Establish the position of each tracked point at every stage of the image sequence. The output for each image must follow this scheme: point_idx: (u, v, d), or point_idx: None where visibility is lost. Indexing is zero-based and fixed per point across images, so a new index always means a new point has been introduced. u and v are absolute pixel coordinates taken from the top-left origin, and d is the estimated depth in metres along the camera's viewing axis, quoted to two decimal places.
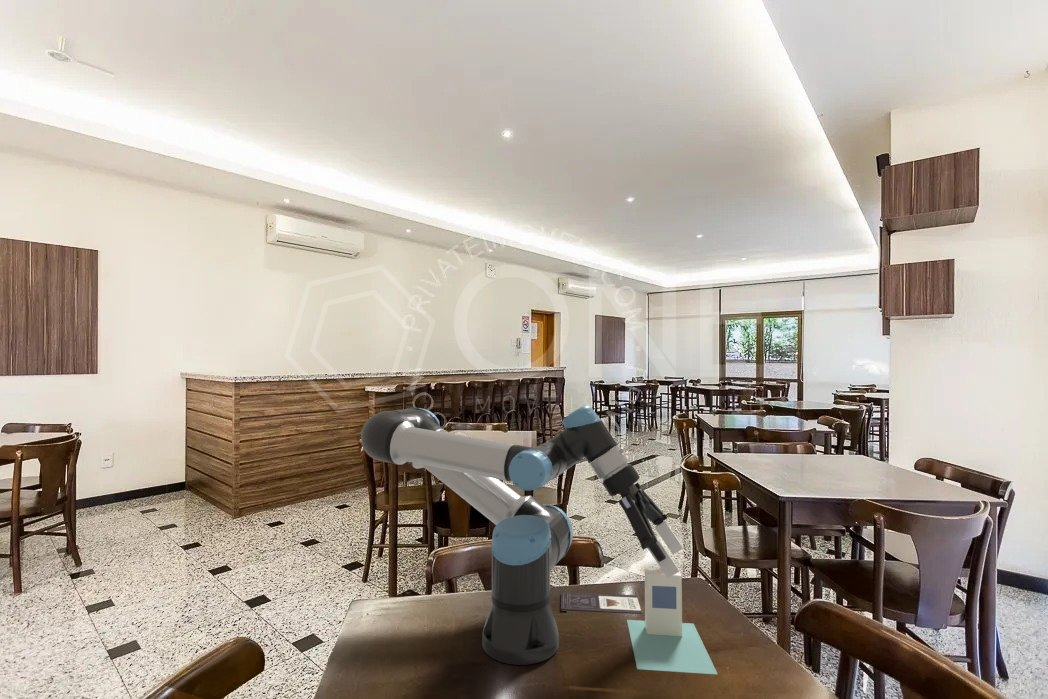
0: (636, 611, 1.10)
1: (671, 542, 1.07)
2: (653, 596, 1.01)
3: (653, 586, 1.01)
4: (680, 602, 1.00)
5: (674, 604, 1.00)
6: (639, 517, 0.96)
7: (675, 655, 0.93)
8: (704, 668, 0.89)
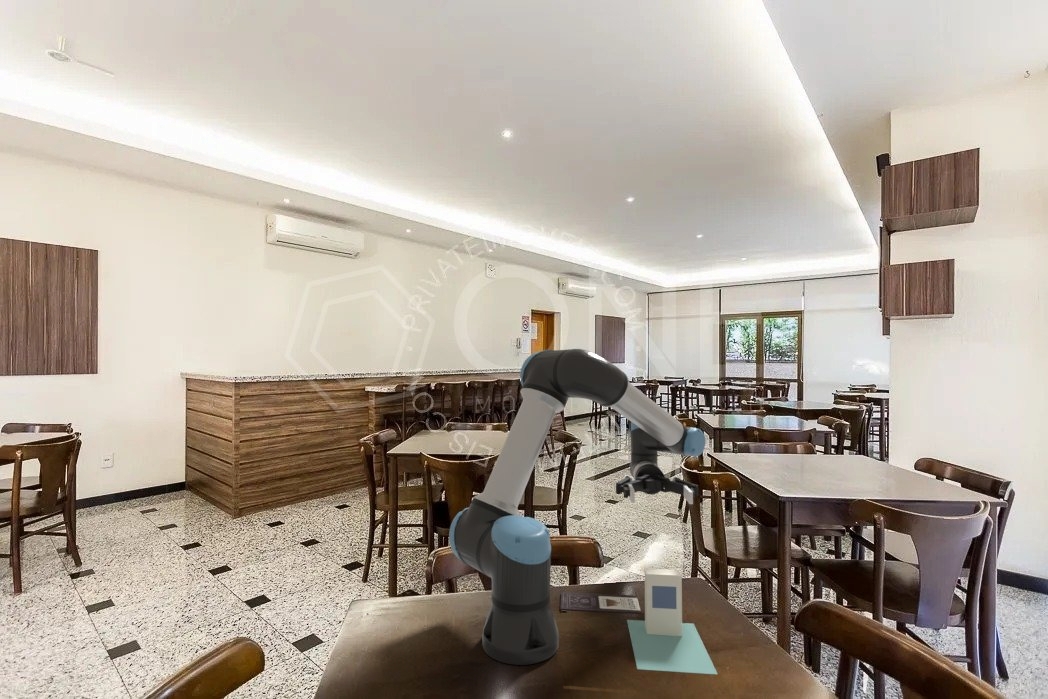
0: (636, 611, 1.10)
1: None
2: (653, 596, 1.01)
3: (653, 586, 1.01)
4: (680, 602, 1.00)
5: (674, 604, 1.00)
6: None
7: (675, 655, 0.93)
8: (704, 668, 0.89)
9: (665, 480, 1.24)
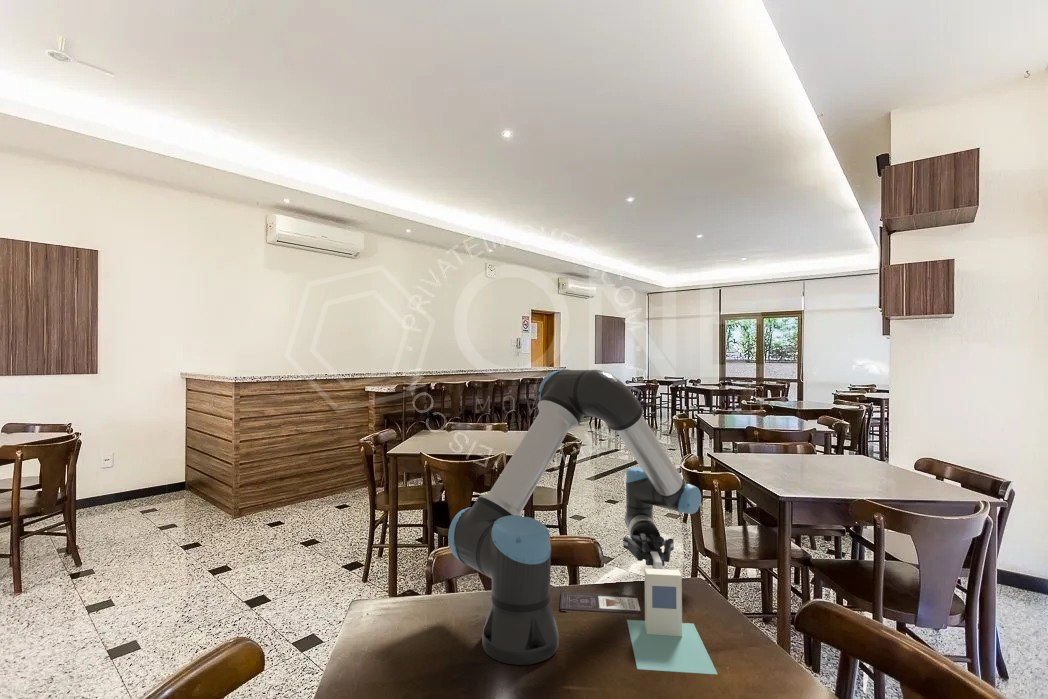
0: (636, 611, 1.10)
1: None
2: (653, 596, 1.01)
3: (653, 586, 1.01)
4: (680, 602, 1.00)
5: (674, 604, 1.00)
6: None
7: (675, 655, 0.93)
8: (704, 668, 0.89)
9: (652, 541, 1.24)
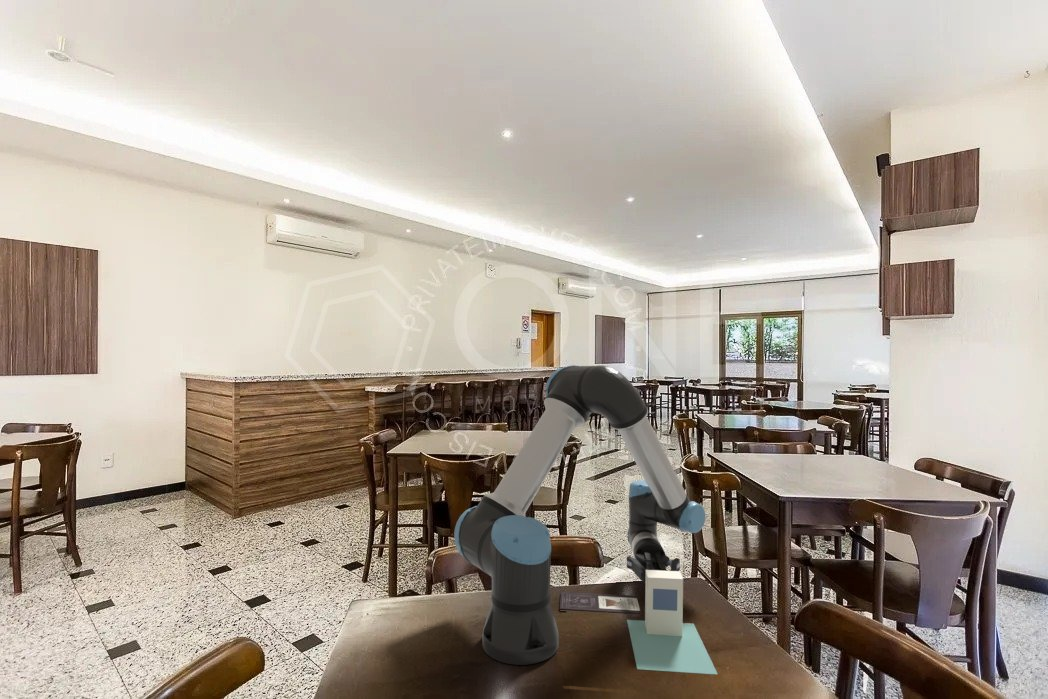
0: (635, 611, 1.10)
1: None
2: (654, 598, 1.00)
3: (654, 589, 1.00)
4: (681, 604, 0.99)
5: (675, 606, 1.00)
6: None
7: (675, 655, 0.93)
8: (704, 668, 0.89)
9: (657, 561, 1.17)
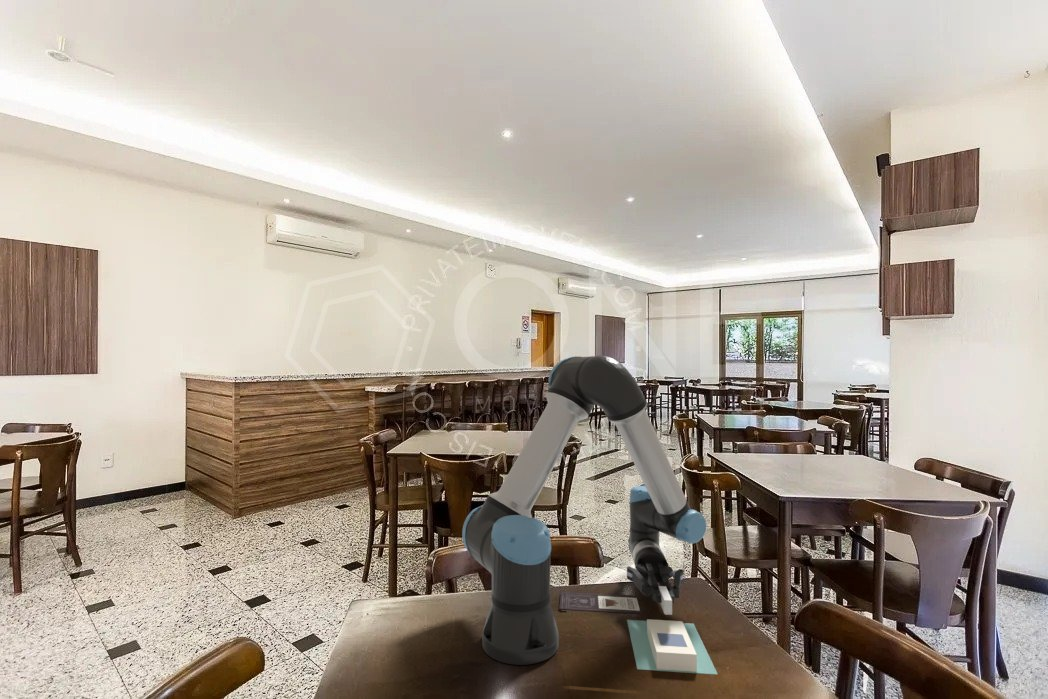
0: (635, 611, 1.10)
1: None
2: None
3: None
4: None
5: None
6: None
7: None
8: (704, 668, 0.89)
9: (659, 572, 1.10)
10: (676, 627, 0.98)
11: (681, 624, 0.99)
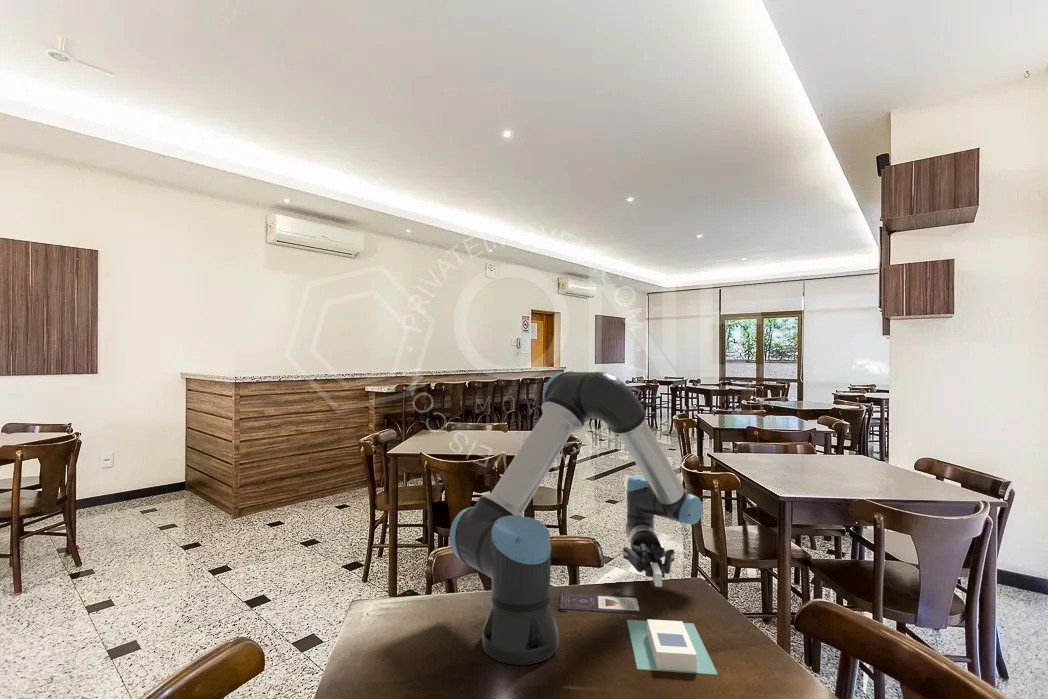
0: (635, 611, 1.10)
1: None
2: None
3: None
4: None
5: None
6: None
7: None
8: (704, 668, 0.89)
9: (652, 552, 1.22)
10: (676, 627, 0.98)
11: (681, 624, 0.99)
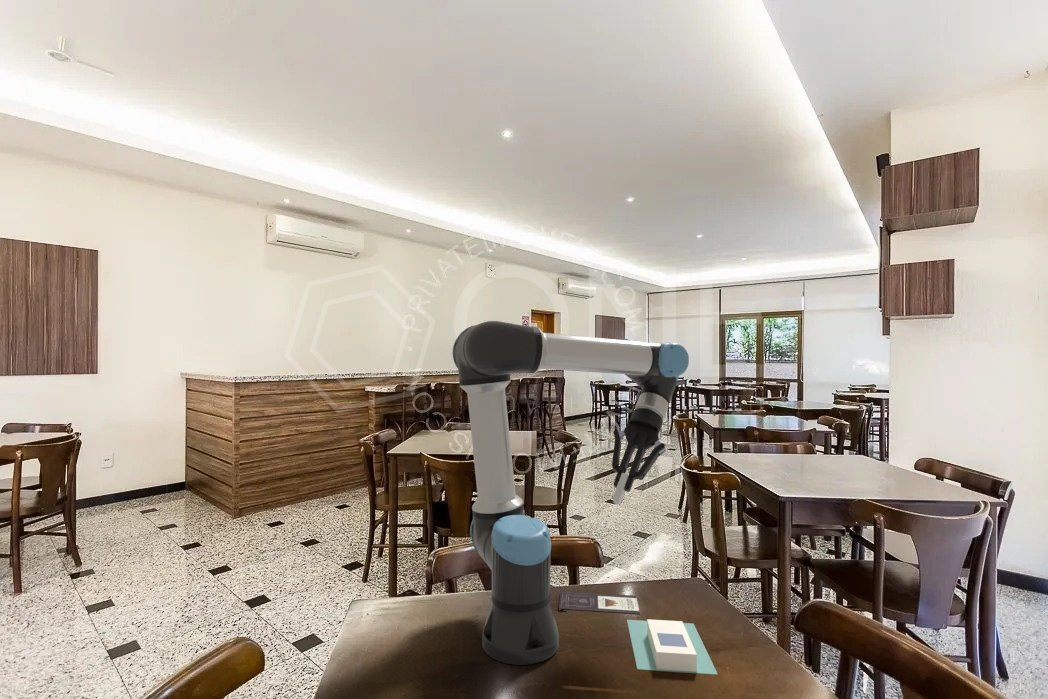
0: (634, 611, 1.10)
1: None
2: None
3: None
4: None
5: None
6: (653, 463, 1.15)
7: None
8: (704, 668, 0.89)
9: (638, 447, 1.16)
10: (676, 627, 0.98)
11: (681, 624, 0.99)
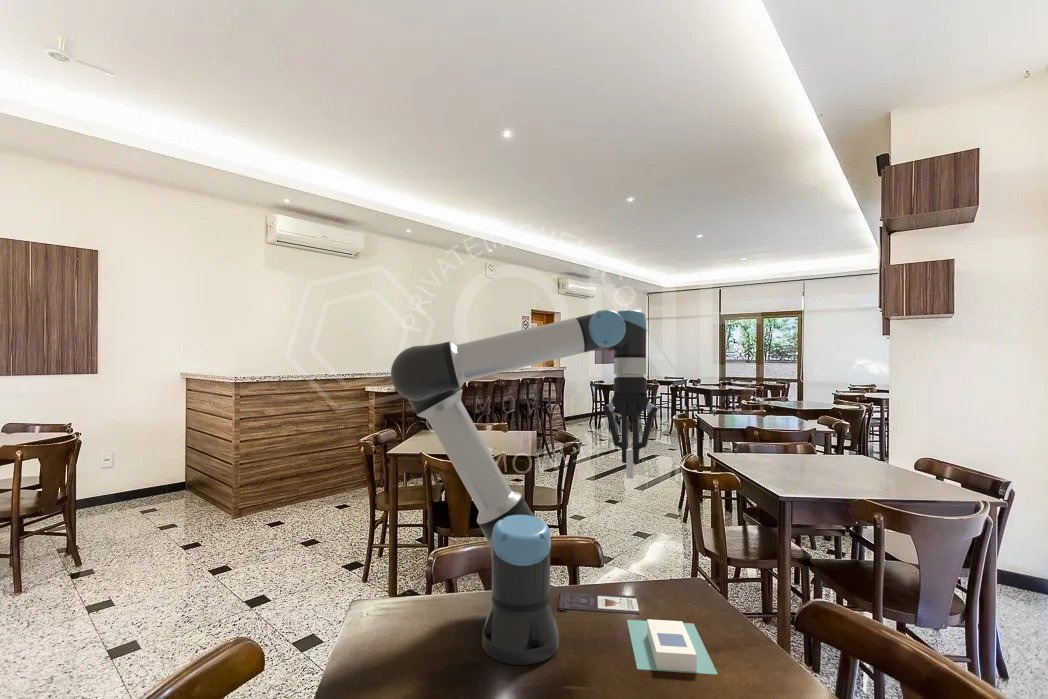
0: (634, 611, 1.10)
1: None
2: None
3: None
4: None
5: None
6: None
7: None
8: (704, 668, 0.89)
9: (632, 418, 1.14)
10: (676, 627, 0.98)
11: (681, 624, 0.99)
